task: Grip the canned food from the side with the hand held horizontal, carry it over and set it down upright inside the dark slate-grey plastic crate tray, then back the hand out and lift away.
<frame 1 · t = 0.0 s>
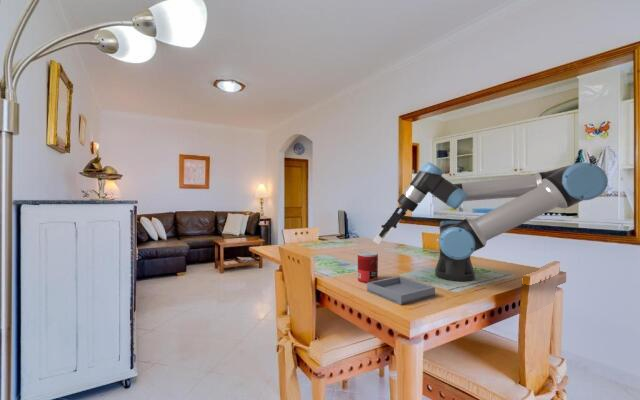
hand: (378, 240, 125), 15 cm above the table, tool tilted 35°, fingers open, 13 cm apart
canned food: (367, 281, 120), on the table
crate tray: (400, 293, 105), on the table
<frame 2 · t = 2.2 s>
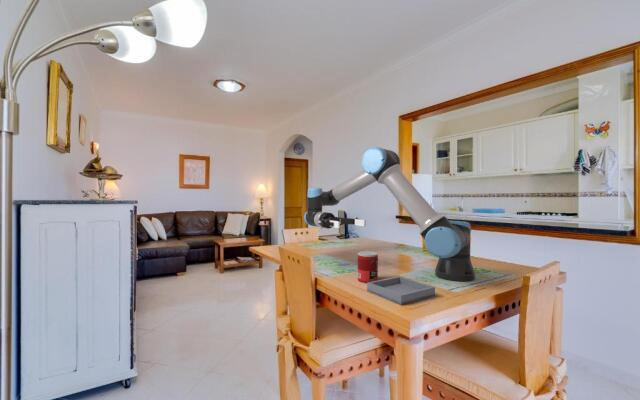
hand: (352, 224, 128), 22 cm above the table, tool horizontal, fingers open, 13 cm apart
nothing on the table moved.
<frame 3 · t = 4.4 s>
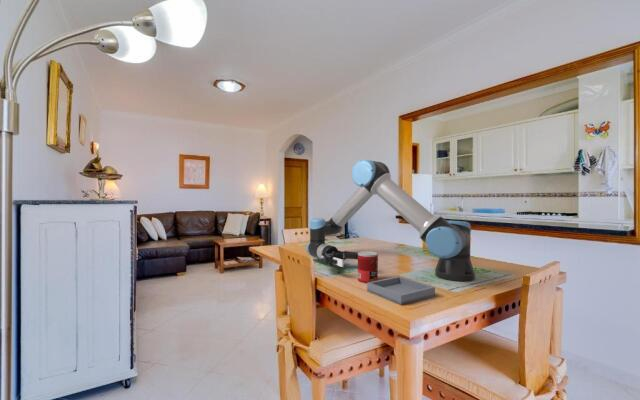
hand: (356, 261, 126), 6 cm above the table, tool horizontal, fingers open, 13 cm apart
nothing on the table moved.
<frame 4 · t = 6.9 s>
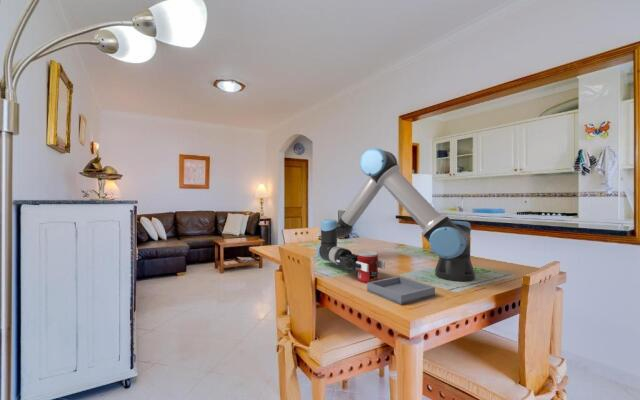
hand: (376, 266, 116), 7 cm above the table, tool horizontal, fingers closed on canned food, 8 cm apart
canned food: (367, 281, 120), on the table, touching gripper
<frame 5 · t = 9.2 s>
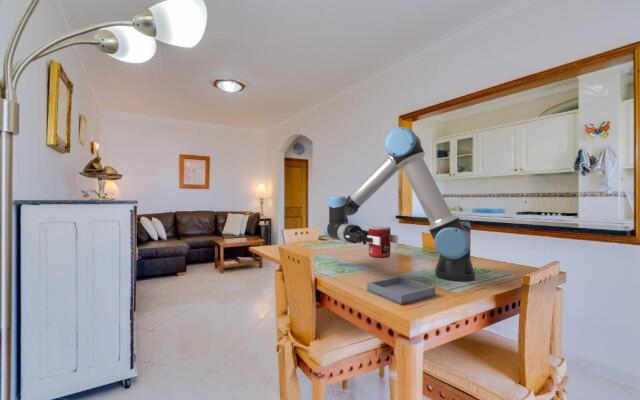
hand: (388, 240, 108), 18 cm above the table, tool horizontal, fingers closed on canned food, 8 cm apart
canned food: (379, 256, 113), point 11 cm above the table, touching gripper
when the fingers open (9 cm above the table, at t = 11.9 s): canned food drops 1 cm, resting on crate tray.
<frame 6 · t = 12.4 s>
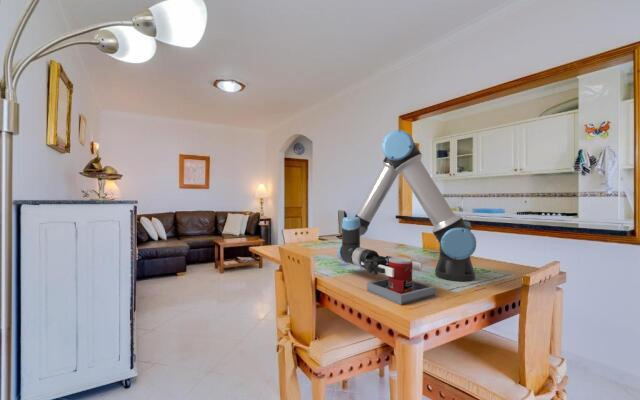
hand: (407, 270, 102), 9 cm above the table, tool horizontal, fingers open, 13 cm apart
canned food: (400, 291, 105), point 1 cm above the table, touching crate tray
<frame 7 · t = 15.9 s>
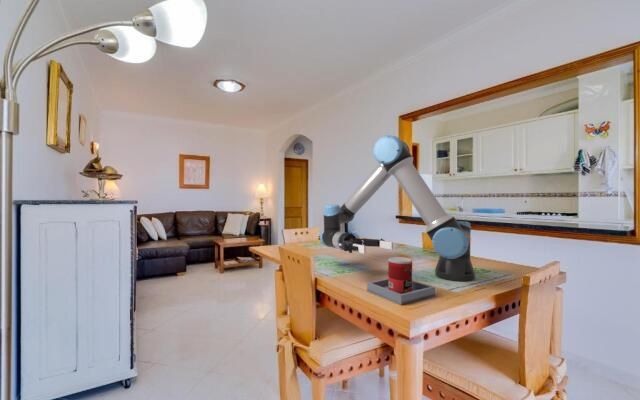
hand: (379, 247, 113), 14 cm above the table, tool horizontal, fingers open, 13 cm apart
nothing on the table moved.
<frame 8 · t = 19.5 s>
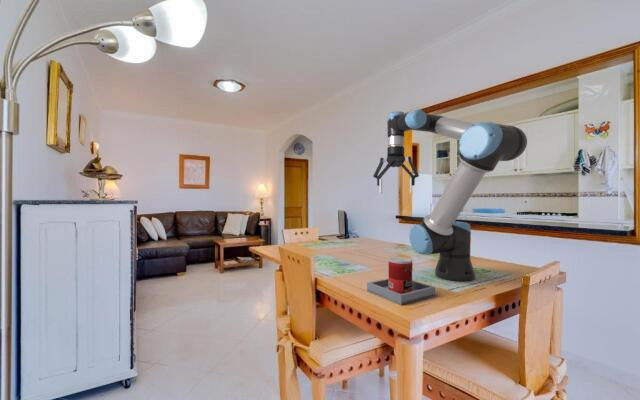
hand: (395, 193, 140), 35 cm above the table, tool pointing down, fingers open, 13 cm apart
nothing on the table moved.
at the end: canned food inside the target area on the crate tray (0.1 cm from its centre), point 0.6 cm above the crate tray's base; canned food tilted 0°; the gripper is holding nothing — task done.
